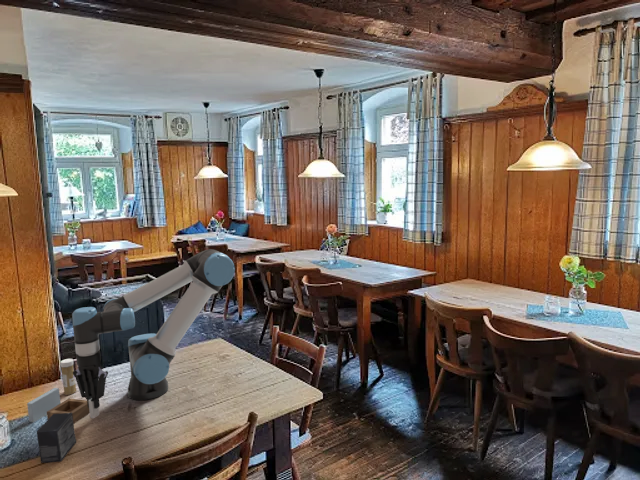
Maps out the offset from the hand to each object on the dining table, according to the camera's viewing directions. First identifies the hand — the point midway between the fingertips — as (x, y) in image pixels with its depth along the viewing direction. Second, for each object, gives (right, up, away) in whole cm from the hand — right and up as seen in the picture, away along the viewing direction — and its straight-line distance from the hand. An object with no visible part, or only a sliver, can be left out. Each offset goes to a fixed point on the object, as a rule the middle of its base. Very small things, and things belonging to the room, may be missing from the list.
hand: (94, 416), depth 163 cm
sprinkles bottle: (-21, +1, +22) cm, 30 cm away
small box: (-2, -4, -19) cm, 19 cm away
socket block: (-10, -1, +3) cm, 10 cm away
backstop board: (-21, -1, +6) cm, 21 cm away
